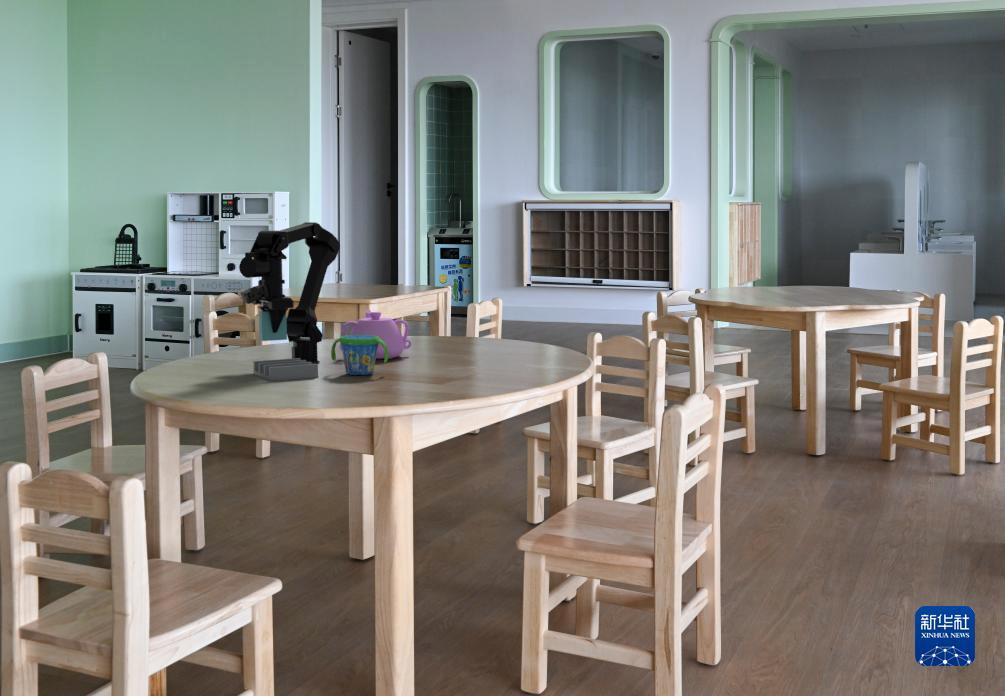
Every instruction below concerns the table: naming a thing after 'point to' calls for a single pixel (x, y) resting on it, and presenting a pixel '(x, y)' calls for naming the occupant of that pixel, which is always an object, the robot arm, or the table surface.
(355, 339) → the snack cup
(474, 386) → the table surface
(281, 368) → the dish rack
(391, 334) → the teapot
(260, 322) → the tall teal box
